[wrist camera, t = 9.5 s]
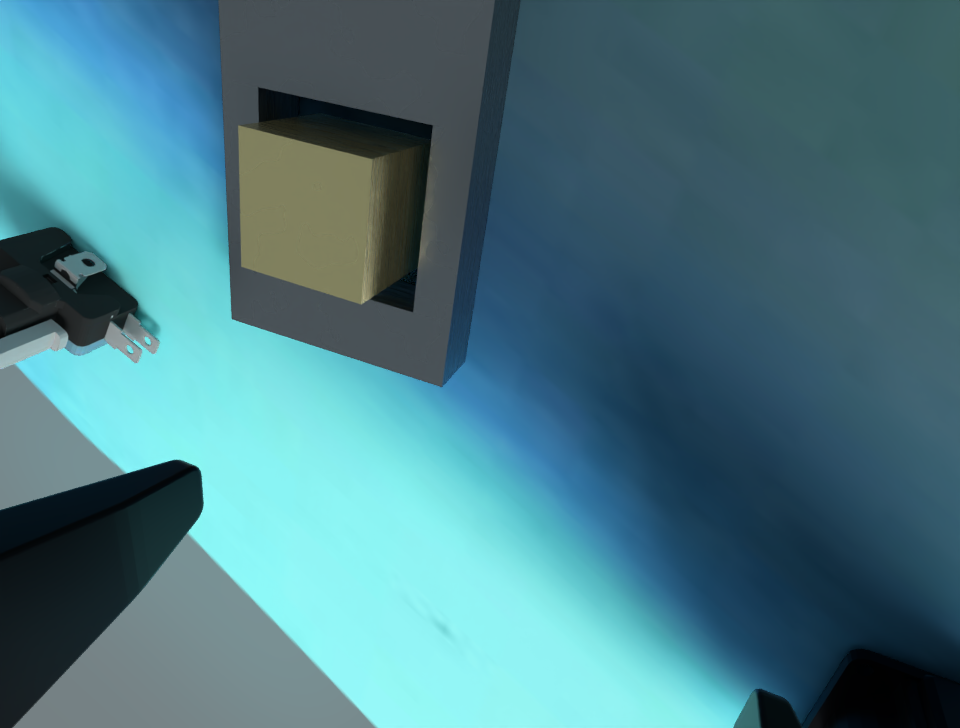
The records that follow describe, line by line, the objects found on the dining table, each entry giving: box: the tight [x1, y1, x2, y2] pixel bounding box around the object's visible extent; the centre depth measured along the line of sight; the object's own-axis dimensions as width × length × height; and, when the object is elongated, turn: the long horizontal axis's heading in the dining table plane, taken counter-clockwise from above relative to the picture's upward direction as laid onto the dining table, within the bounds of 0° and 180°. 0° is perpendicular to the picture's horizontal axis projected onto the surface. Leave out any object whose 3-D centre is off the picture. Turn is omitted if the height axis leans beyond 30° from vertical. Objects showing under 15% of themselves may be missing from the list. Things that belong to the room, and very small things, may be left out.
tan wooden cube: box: [238, 113, 431, 304], centre depth 19 cm, size 4×4×4 cm
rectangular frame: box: [219, 0, 520, 387], centre depth 18 cm, size 20×8×2 cm, turn 171°
